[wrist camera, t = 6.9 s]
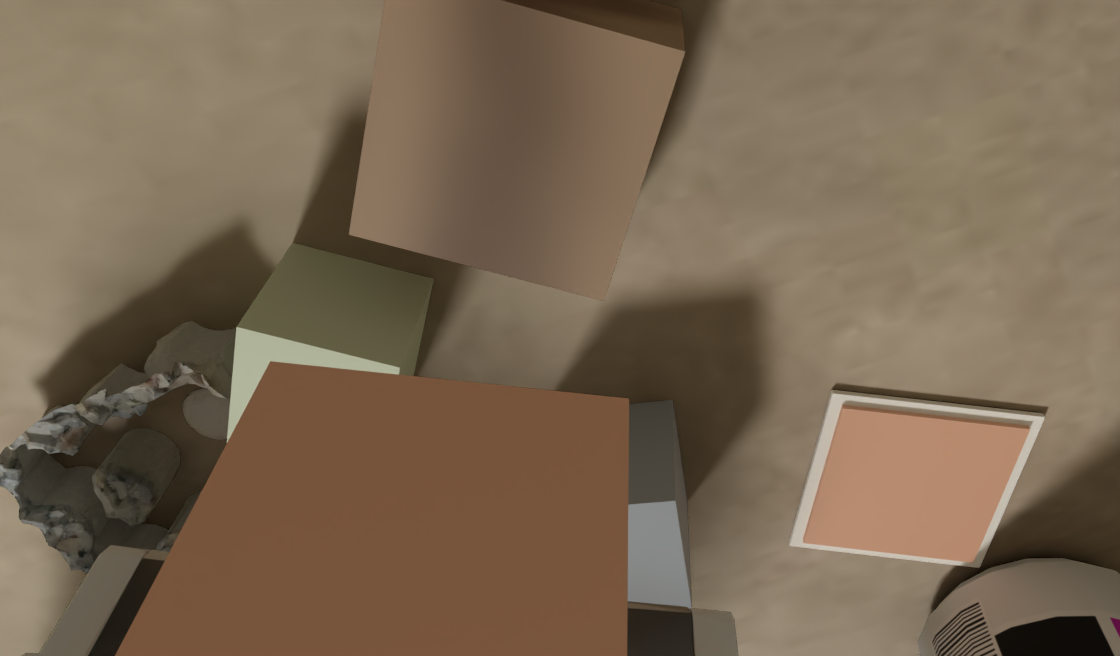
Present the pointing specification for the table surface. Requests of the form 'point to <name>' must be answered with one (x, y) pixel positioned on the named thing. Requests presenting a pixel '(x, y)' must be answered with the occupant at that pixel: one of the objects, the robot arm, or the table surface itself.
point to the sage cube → (329, 320)
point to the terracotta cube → (402, 525)
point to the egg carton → (120, 450)
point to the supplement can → (1029, 612)
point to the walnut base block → (515, 132)
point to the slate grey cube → (657, 509)
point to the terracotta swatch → (911, 477)
